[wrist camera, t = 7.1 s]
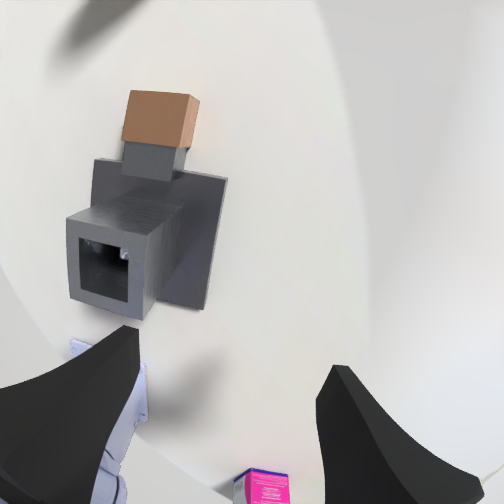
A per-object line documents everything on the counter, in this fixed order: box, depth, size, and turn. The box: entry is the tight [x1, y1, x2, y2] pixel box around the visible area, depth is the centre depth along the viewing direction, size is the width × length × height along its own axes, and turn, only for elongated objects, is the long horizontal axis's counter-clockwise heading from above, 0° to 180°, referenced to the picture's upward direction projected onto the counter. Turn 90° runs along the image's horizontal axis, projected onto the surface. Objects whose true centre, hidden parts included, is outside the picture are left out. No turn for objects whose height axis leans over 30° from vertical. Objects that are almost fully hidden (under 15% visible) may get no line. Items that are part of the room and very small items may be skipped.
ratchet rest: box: [91, 90, 228, 310], centre depth 17 cm, size 14×9×4 cm, turn 168°
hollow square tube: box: [66, 195, 183, 321], centre depth 15 cm, size 4×4×6 cm
